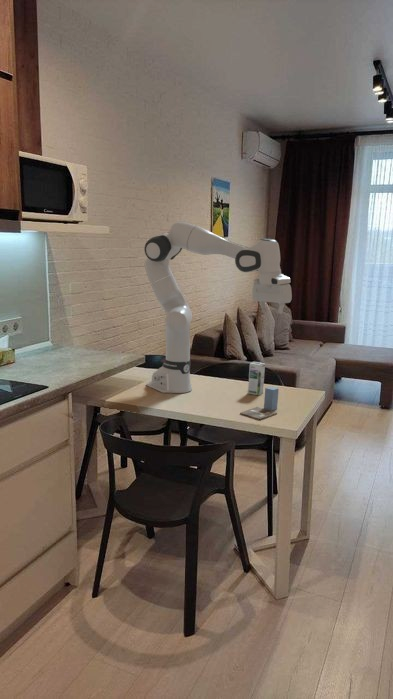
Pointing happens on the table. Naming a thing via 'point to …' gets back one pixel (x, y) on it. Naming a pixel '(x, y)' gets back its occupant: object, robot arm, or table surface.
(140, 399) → the table surface
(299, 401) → the table surface
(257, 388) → the syrup box
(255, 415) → the letter card
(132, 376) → the table surface
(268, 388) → the slate block
